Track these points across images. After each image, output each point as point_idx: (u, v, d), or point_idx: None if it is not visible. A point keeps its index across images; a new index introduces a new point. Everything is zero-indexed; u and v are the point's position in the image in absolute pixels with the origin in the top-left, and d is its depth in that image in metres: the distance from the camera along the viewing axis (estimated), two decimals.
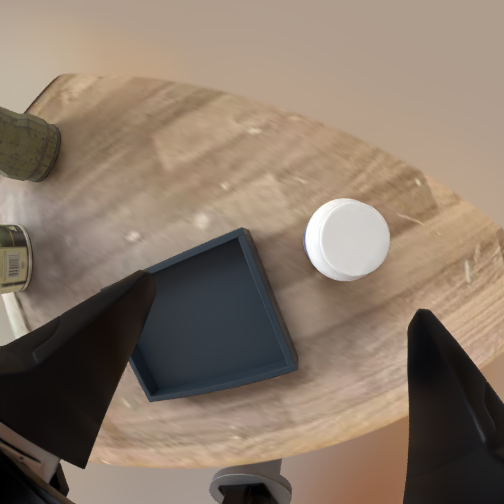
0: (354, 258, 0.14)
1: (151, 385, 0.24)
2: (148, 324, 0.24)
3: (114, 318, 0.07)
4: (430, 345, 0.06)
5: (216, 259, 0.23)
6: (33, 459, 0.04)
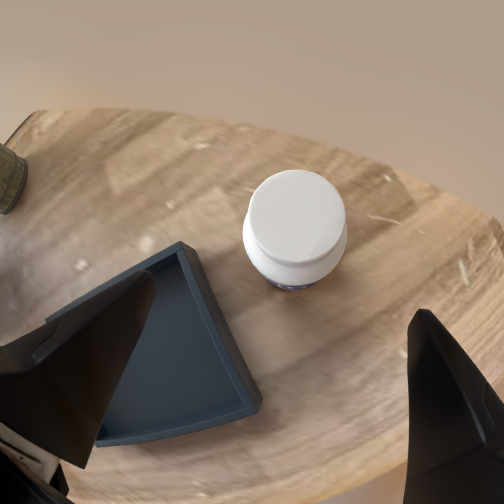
0: (297, 238, 0.10)
1: None
2: None
3: (114, 318, 0.07)
4: (430, 345, 0.06)
5: (158, 284, 0.19)
6: (33, 459, 0.04)
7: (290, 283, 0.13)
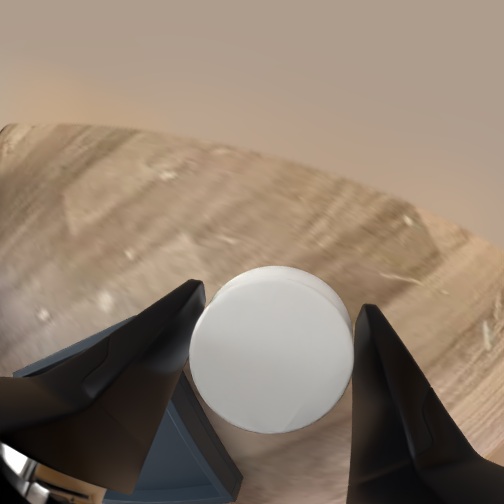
0: (268, 402, 0.06)
1: None
2: None
3: (171, 335, 0.07)
4: (369, 342, 0.06)
5: None
6: (83, 497, 0.03)
7: None
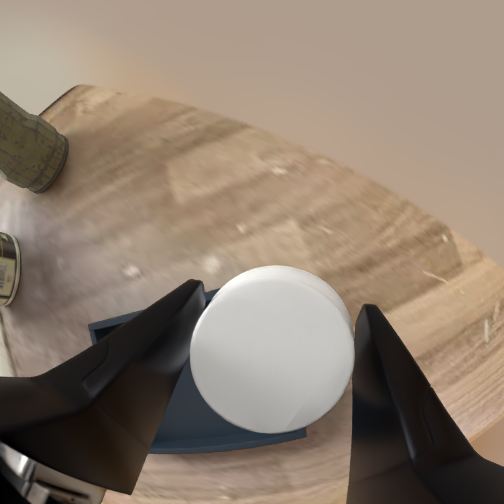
0: (268, 401, 0.06)
1: None
2: None
3: (171, 335, 0.07)
4: (369, 342, 0.06)
5: None
6: (83, 496, 0.03)
7: None
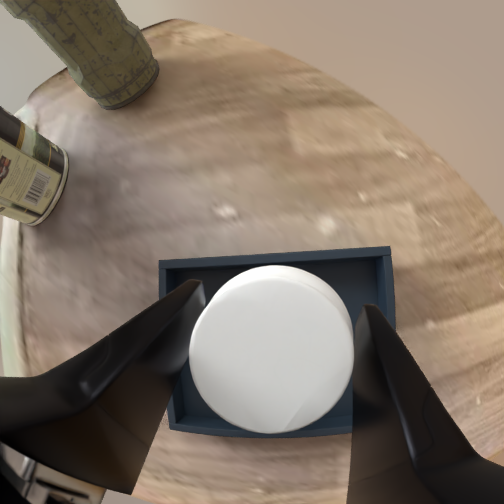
0: (267, 401, 0.06)
1: (179, 409, 0.17)
2: None
3: (171, 334, 0.07)
4: (369, 342, 0.06)
5: (338, 275, 0.18)
6: (83, 496, 0.03)
7: None
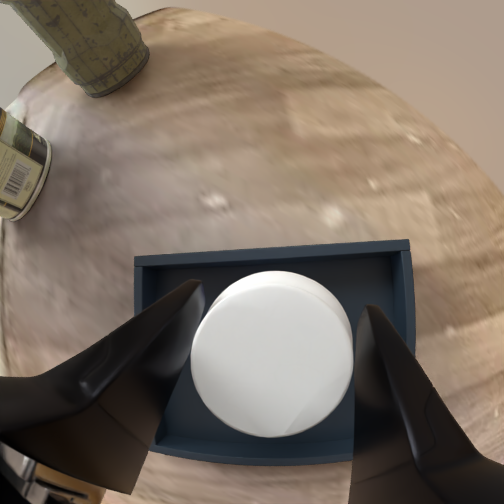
0: (268, 406, 0.06)
1: (160, 428, 0.13)
2: None
3: (170, 334, 0.07)
4: (371, 342, 0.06)
5: (347, 275, 0.15)
6: (82, 496, 0.03)
7: None
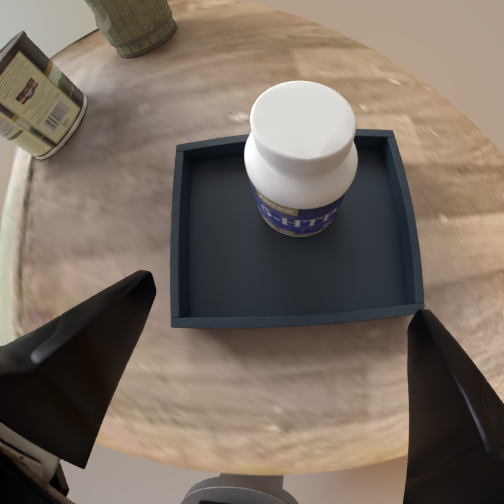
0: (305, 137, 0.09)
1: (184, 302, 0.16)
2: (222, 211, 0.18)
3: (114, 318, 0.07)
4: (430, 345, 0.06)
5: None
6: (33, 459, 0.04)
7: (298, 203, 0.11)
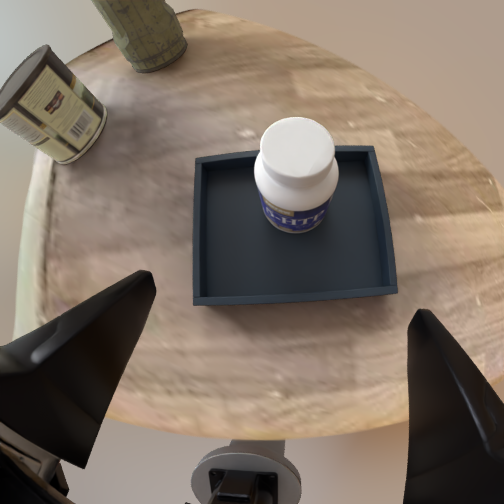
0: (298, 161, 0.13)
1: (203, 286, 0.21)
2: (234, 213, 0.23)
3: (114, 318, 0.07)
4: (430, 345, 0.06)
5: None
6: (33, 459, 0.04)
7: (293, 207, 0.15)
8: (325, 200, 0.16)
